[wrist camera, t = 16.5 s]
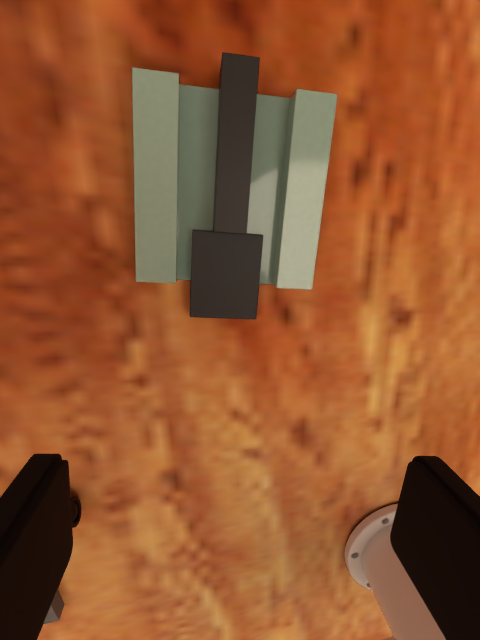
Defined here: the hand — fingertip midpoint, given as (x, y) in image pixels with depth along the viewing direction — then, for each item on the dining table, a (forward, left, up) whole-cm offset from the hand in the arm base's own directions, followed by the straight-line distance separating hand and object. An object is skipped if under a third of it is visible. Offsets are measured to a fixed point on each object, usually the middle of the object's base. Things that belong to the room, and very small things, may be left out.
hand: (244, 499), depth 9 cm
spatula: (-1, -10, -20) cm, 22 cm away
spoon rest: (-1, -10, -21) cm, 23 cm away
